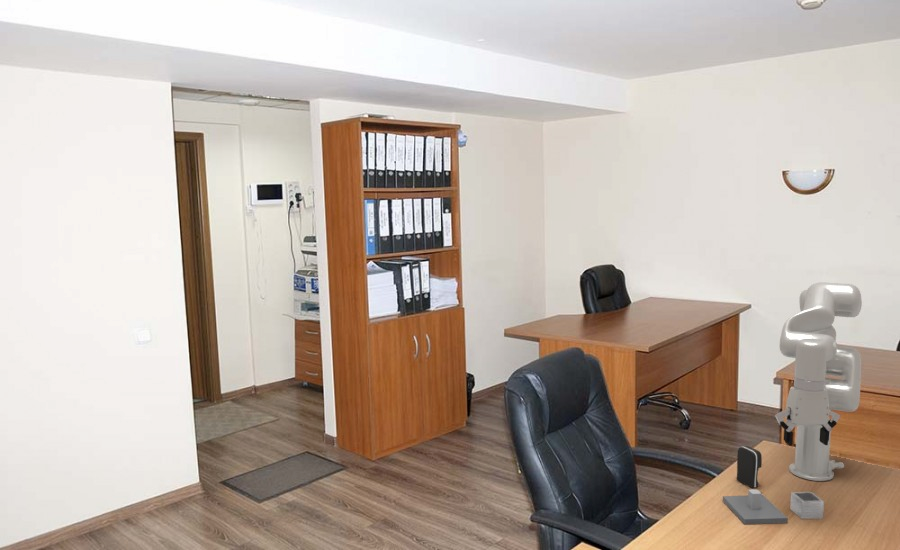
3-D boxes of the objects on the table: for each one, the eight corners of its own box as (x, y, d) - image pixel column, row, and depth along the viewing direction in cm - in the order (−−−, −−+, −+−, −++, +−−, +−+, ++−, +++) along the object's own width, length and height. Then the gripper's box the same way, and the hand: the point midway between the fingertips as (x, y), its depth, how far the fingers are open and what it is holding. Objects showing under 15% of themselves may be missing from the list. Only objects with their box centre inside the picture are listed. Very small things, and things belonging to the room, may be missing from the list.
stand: (762, 499, 202) (763, 480, 201) (787, 523, 188) (788, 502, 187) (722, 500, 202) (723, 481, 201) (744, 524, 188) (745, 503, 187)
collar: (810, 508, 196) (811, 491, 196) (822, 518, 190) (823, 501, 190) (790, 508, 196) (791, 492, 195) (801, 519, 190) (802, 502, 189)
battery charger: (762, 486, 210) (764, 451, 209) (753, 489, 209) (754, 453, 207) (744, 478, 217) (746, 443, 215) (735, 480, 215) (737, 445, 214)
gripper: (833, 379, 191) (830, 438, 194) (771, 380, 192) (768, 439, 194) (848, 387, 184) (844, 448, 186) (784, 388, 184) (780, 449, 187)
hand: (805, 443), depth 190 cm, fingers open, 9 cm apart
